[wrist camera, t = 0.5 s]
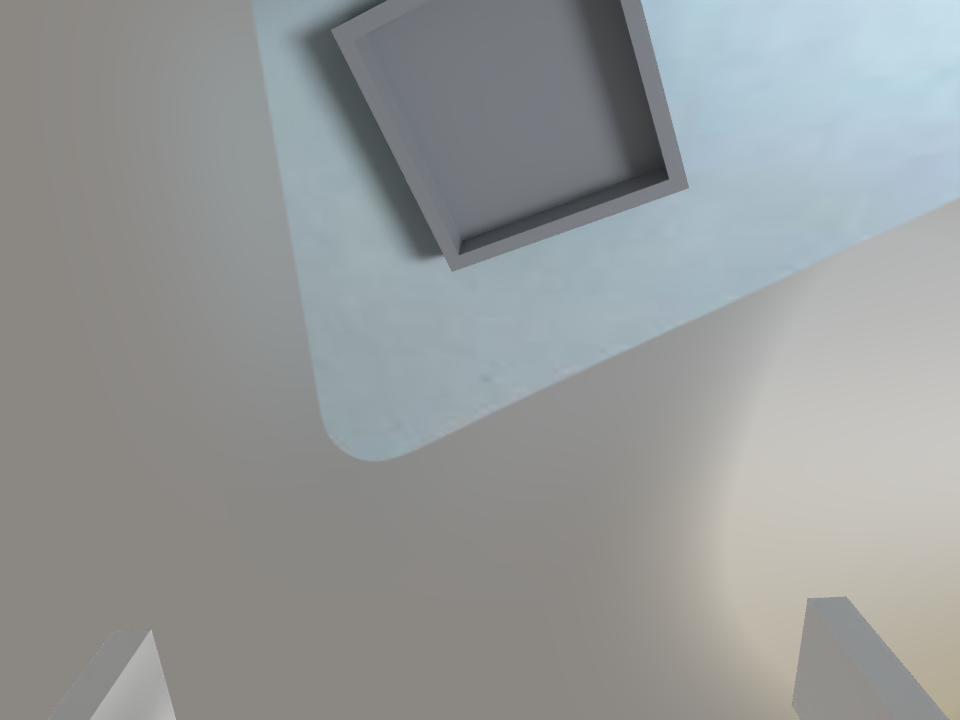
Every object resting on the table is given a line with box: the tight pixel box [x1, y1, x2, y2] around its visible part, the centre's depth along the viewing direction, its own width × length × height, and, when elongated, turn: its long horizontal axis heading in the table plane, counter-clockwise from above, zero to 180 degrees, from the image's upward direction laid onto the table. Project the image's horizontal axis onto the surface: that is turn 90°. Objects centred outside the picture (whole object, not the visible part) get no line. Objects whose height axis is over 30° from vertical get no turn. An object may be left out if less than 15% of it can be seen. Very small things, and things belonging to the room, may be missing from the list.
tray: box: [331, 0, 689, 271], centre depth 31 cm, size 14×14×3 cm
